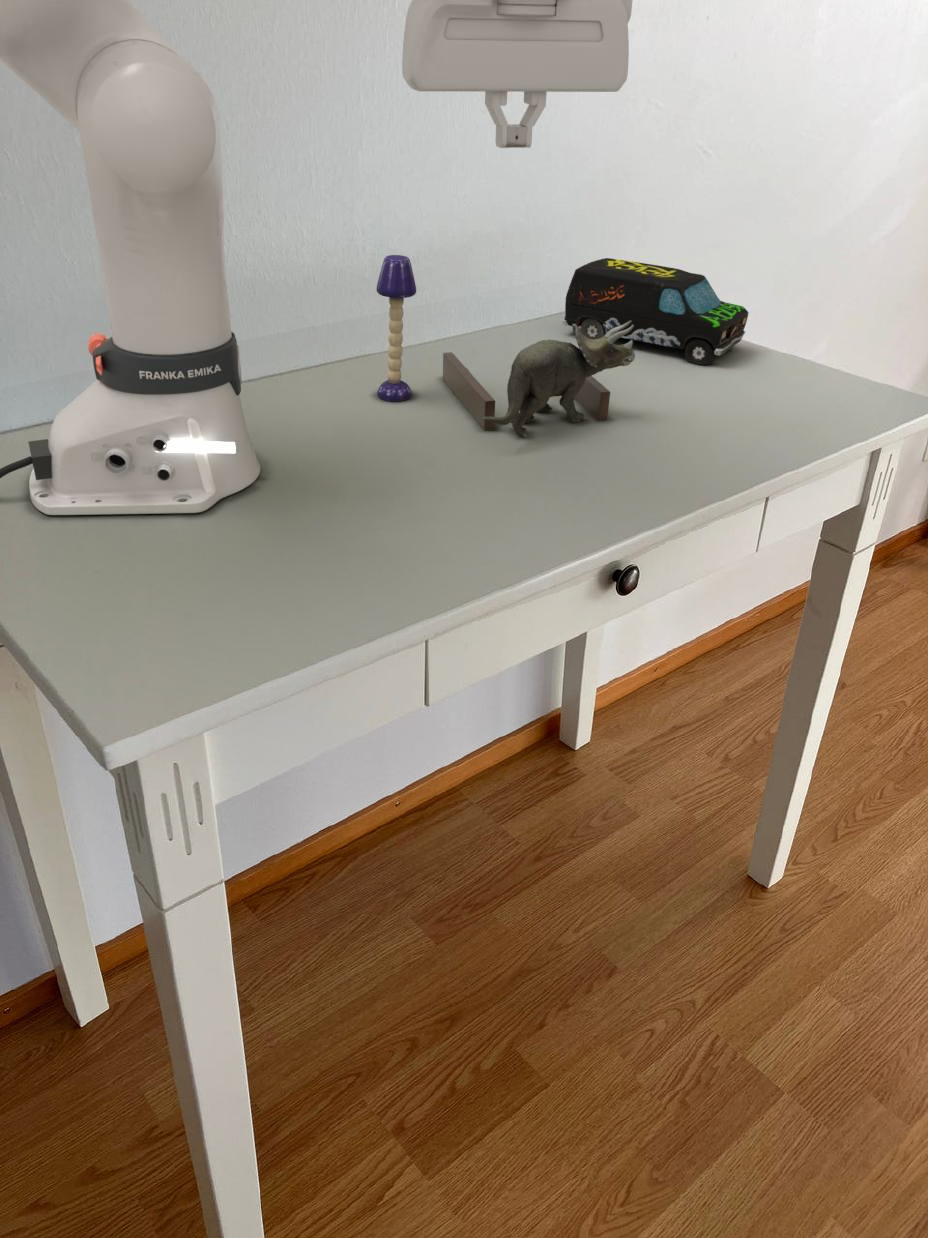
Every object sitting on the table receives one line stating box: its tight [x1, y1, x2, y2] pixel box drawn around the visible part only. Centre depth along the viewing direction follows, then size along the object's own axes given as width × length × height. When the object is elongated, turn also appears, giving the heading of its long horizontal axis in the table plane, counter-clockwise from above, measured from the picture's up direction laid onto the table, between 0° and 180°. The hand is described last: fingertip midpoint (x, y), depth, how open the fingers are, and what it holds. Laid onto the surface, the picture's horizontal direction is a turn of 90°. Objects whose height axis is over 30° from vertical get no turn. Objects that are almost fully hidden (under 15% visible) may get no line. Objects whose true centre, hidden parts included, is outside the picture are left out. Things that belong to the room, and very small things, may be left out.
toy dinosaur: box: [483, 321, 636, 438], centre depth 117 cm, size 22×8×11 cm, turn 126°
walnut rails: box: [442, 351, 611, 431], centre depth 126 cm, size 15×18×4 cm
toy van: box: [561, 257, 750, 366], centre depth 146 cm, size 11×25×10 cm, turn 57°
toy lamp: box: [376, 254, 417, 402], centre depth 122 cm, size 5×5×17 cm
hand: (513, 146), depth 94 cm, fingers closed
